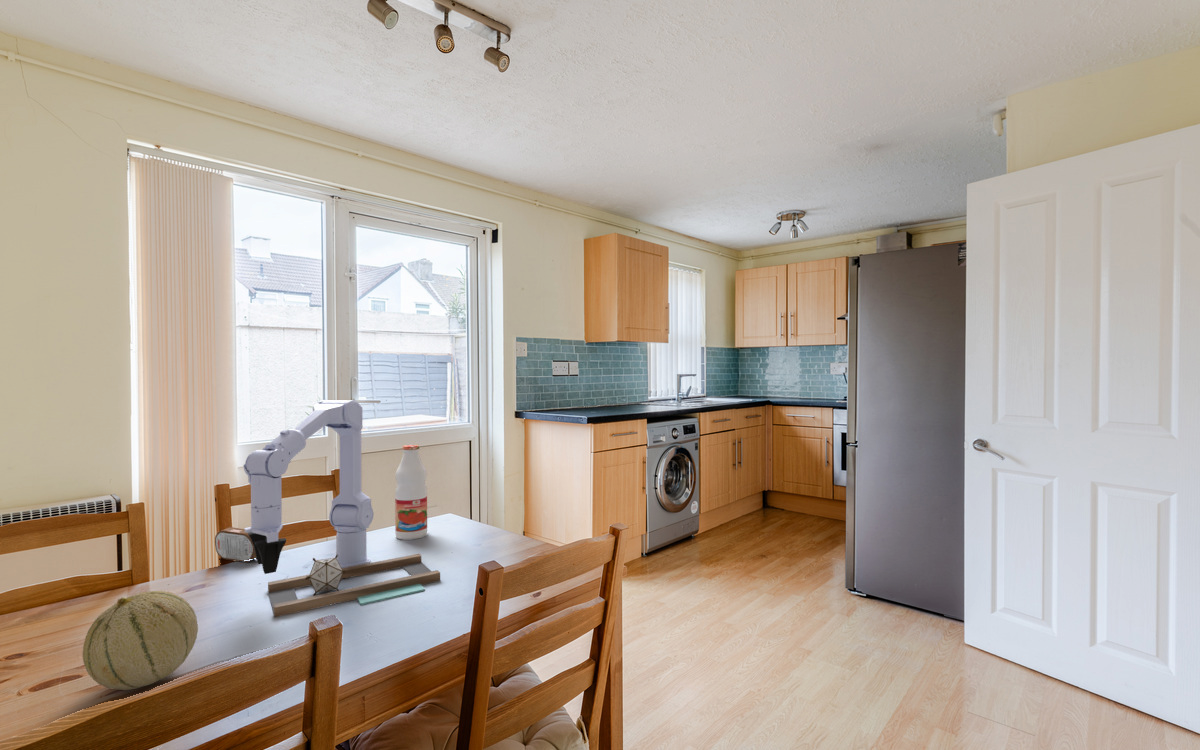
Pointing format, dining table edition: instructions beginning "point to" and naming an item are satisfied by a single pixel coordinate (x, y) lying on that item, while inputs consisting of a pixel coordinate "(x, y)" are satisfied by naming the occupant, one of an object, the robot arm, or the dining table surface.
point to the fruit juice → (410, 496)
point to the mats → (291, 595)
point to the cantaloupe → (140, 640)
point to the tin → (234, 544)
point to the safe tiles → (390, 594)
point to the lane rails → (350, 593)
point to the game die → (325, 575)
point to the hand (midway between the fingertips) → (266, 567)
